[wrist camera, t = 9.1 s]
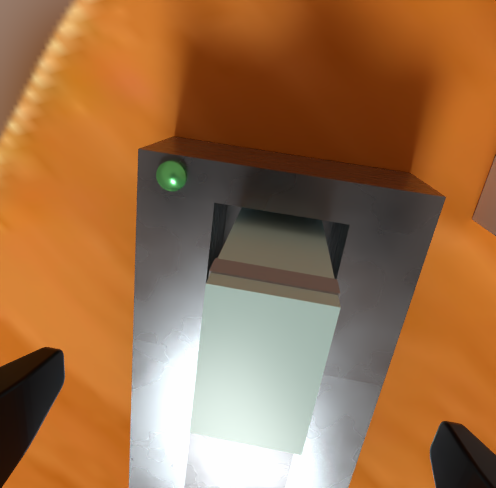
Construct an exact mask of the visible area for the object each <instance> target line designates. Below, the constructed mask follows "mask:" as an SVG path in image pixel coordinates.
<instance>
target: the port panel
mask: <svg viewBox="0 0 496 488" xmlns="http://www.w3.org/2000/svg"><path fill="white" fill-rule="evenodd" d="M445 198H446V197H445V196H443V195H442V194H441V193H439V192H438V191H436V190H435V189H433V188H432V187H430V186H429V185H427V184H426V183H424V182H423V181H421V180H420V179H419V178H417V177H416V176H414V175H413V174H411V173H407V172H400V171H394V170H387V169H381V168H374V167H368V166H361V165H355V164H348V163H342V162H335V161H329V160H322V159H316V158H309V157H303V156H296V155H290V154H283V153H277V152H270V151H264V150H257V149H251V148H244V147H238V146H231V145H225V144H219V143H212V142H206V141H199V140H193V139H186V138H180V137H171V138H168V139H165V140H162V141H160V142H157V143H154V144H151V145H148V146H145V147H142V148H140V149H138V183H137V219H136V254H135V290H134V326H133V362H132V398H131V433H130V469H129V488H348V487H349V484H350V481H351V478H352V475H353V472H354V469H355V466H356V463H357V460H358V457H359V454H360V451H361V448H362V445H363V442H364V439H365V436H366V433H367V430H368V427H369V424H370V421H371V418H372V415H373V412H374V409H375V406H376V403H377V400H378V397H379V394H380V391H381V388H382V385H383V382H384V380H385V377H386V374H387V371H388V368H389V365H390V362H391V359H392V356H393V353H394V350H395V347H396V344H397V341H398V338H399V335H400V332H401V329H402V326H403V323H404V320H405V317H406V314H407V311H408V308H409V305H410V302H411V299H412V296H413V293H414V290H415V287H416V284H417V281H418V278H419V275H420V272H421V269H422V266H423V263H424V260H425V257H426V254H427V251H428V248H429V246H430V243H431V240H432V237H433V234H434V231H435V228H436V225H437V222H438V219H439V216H440V213H441V210H442V207H443V204H444V201H445ZM242 207H244V208H250V209H256V210H263V211H269V212H275V213H281V214H287V215H293V216H299V217H305V218H312V219H318V220H322V223H323V227H324V232H325V237H326V241H327V246H328V251H329V255H330V260H331V265H332V269H333V274H334V279H337V280H338V285H339V289H340V298H339V302H340V306H341V308H340V312H339V316H338V320H337V323H336V327H335V331H334V335H333V339H332V342H331V346H330V350H329V354H328V357H327V361H326V365H325V369H324V373H323V376H322V380H321V384H320V388H319V391H318V395H317V399H316V403H315V407H314V410H313V414H312V418H311V422H310V425H309V429H308V433H307V437H306V441H305V444H304V448H303V452H302V455H297V454H292V453H287V452H282V451H277V450H272V449H267V448H263V447H258V446H253V445H248V444H243V443H238V442H233V441H228V440H223V439H218V438H213V437H208V436H203V435H198V434H193V433H189V431H190V422H191V413H192V404H193V395H194V386H195V377H196V368H197V359H198V350H199V341H200V332H201V323H202V314H203V305H204V296H205V287H206V282H207V280H208V277H209V270H210V268H211V266H212V264H213V262H214V260H215V258H218V257H219V254H220V252H221V250H222V248H223V246H224V244H225V242H226V240H227V237H228V235H229V233H230V231H231V229H232V227H233V225H234V223H235V220H236V218H237V216H238V214H239V212H240V210H241V208H242Z"/></svg>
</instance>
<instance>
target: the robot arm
mask: <svg viewBox="0 0 496 488" xmlns="http://www.w3.org/2000/svg"><path fill="white" fill-rule="evenodd" d="M64 379H65V370H64V355H63V352H62V350H60V349H55V348H50V347H44V348H41V349H39V350H37V351H34V352H32V353H30V354H28V355H26V356H23V357H21V358H19V359H17V360H14V361H12V362H10V363H8V364H6V365H3V366H1V367H0V488H2V486H3V485H4V484H5V482H6V481H7V479H8V478H9V476H10V475H11V473H12V472H13V470H14V469H15V467H16V466H17V464H18V463H19V461H20V460H21V458H22V457H23V455H24V454H25V452H26V451H27V449H28V448H29V446H30V444H31V443H32V441H33V439H34V438H35V436H36V434H37V432H38V430H39V428H40V427H41V425H42V423H43V421H44V419H45V417H46V416H47V414H48V412H49V410H50V408H51V406H52V405H53V403H54V401H55V399H56V397H57V395H58V394H59V392H60V390H61V388H62V386H63V383H64ZM430 460H431V465H432V470H433V475H434V481H435V486H436V488H496V455H495V454H494V453H493V452H492V451H491V450H490V449H488V448H487V447H486V446H485V445H484V444H483V443H482V442H481V441H480V440H479V439H478V438H477V437H476V436H474V435H473V434H472V433H471V432H470V431H469V430H468V429H467V428H466V427H465V426H463V425H462V424H459V423H454V422H448V421H443V422H442V423H441V424H440V426H439V428H438V430H437V432H436V435H435V437H434V439H433V442H432V444H431V447H430Z"/></svg>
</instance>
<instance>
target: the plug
mask: <svg viewBox="0 0 496 488" xmlns="http://www.w3.org/2000/svg"><path fill="white" fill-rule="evenodd" d="M339 298H340V289H339V285H338V280H337V279H334V274H333V269H332V265H331V260H330V255H329V251H328V246H327V241H326V237H325V232H324V227H323V223H322V220H318V219H312V218H305V217H299V216H293V215H287V214H281V213H275V212H269V211H263V210H256V209H250V208H244V207H242V208H241V210H240V212H239V214H238V216H237V218H236V220H235V223H234V225H233V227H232V229H231V231H230V233H229V235H228V237H227V240H226V242H225V244H224V246H223V248H222V250H221V252H220V254H219V257H218V258H215V260H214V262H213V264H212V266H211V268H210V270H209V277H208V280H207V282H206V287H205V296H204V305H203V314H202V323H201V332H200V341H199V350H198V359H197V368H196V377H195V386H194V395H193V404H192V413H191V422H190V431H189V433H193V434H198V435H203V436H208V437H213V438H218V439H223V440H228V441H233V442H238V443H243V444H248V445H253V446H258V447H263V448H267V449H272V450H277V451H282V452H287V453H292V454H297V455H302V452H303V448H304V444H305V441H306V437H307V433H308V429H309V425H310V422H311V418H312V414H313V410H314V407H315V403H316V399H317V395H318V391H319V388H320V384H321V380H322V376H323V373H324V369H325V365H326V361H327V357H328V354H329V350H330V346H331V342H332V339H333V335H334V331H335V327H336V323H337V320H338V316H339V312H340V308H341V306H340V302H339Z"/></svg>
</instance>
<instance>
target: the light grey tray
mask: <svg viewBox="0 0 496 488" xmlns="http://www.w3.org/2000/svg"><path fill="white" fill-rule="evenodd" d="M472 220H474V221H475V222H477V223H478V224H479V225H481V226H482V227H484V228H485V229H486V230H488V231H489V232H491V233H492V234H494V235H495V236H496V156H495V159H494V161H493V164H492V167H491V170H490V172H489V175H488V178H487V180H486V183H485V186H484V188H483V191H482V194H481V197H480V199H479V202H478V205H477V207H476V210H475V213H474V215H473V218H472Z"/></svg>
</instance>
